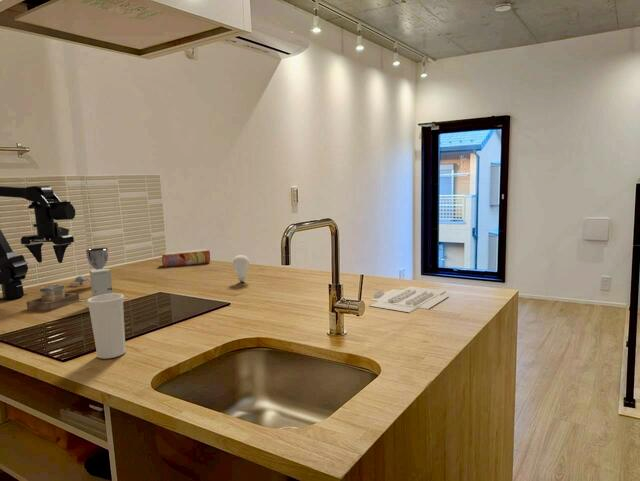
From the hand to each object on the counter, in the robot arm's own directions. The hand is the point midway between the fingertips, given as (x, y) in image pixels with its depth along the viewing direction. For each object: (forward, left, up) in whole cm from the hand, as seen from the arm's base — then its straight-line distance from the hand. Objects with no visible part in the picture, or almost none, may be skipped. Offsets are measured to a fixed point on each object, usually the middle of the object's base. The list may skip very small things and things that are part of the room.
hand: (50, 262), depth 165 cm
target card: (+13, +1, -13) cm, 18 cm away
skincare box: (+27, -6, -13) cm, 31 cm away
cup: (+62, -44, -13) cm, 77 cm away
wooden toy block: (+9, -9, -12) cm, 18 cm away
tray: (+129, +15, -14) cm, 130 cm away
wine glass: (+5, +18, -13) cm, 23 cm away
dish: (-4, +17, -13) cm, 22 cm away
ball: (-4, +17, -12) cm, 21 cm away
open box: (+9, -9, -13) cm, 18 cm away
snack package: (+17, +62, -14) cm, 66 cm away
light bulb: (+62, +30, -13) cm, 70 cm away
